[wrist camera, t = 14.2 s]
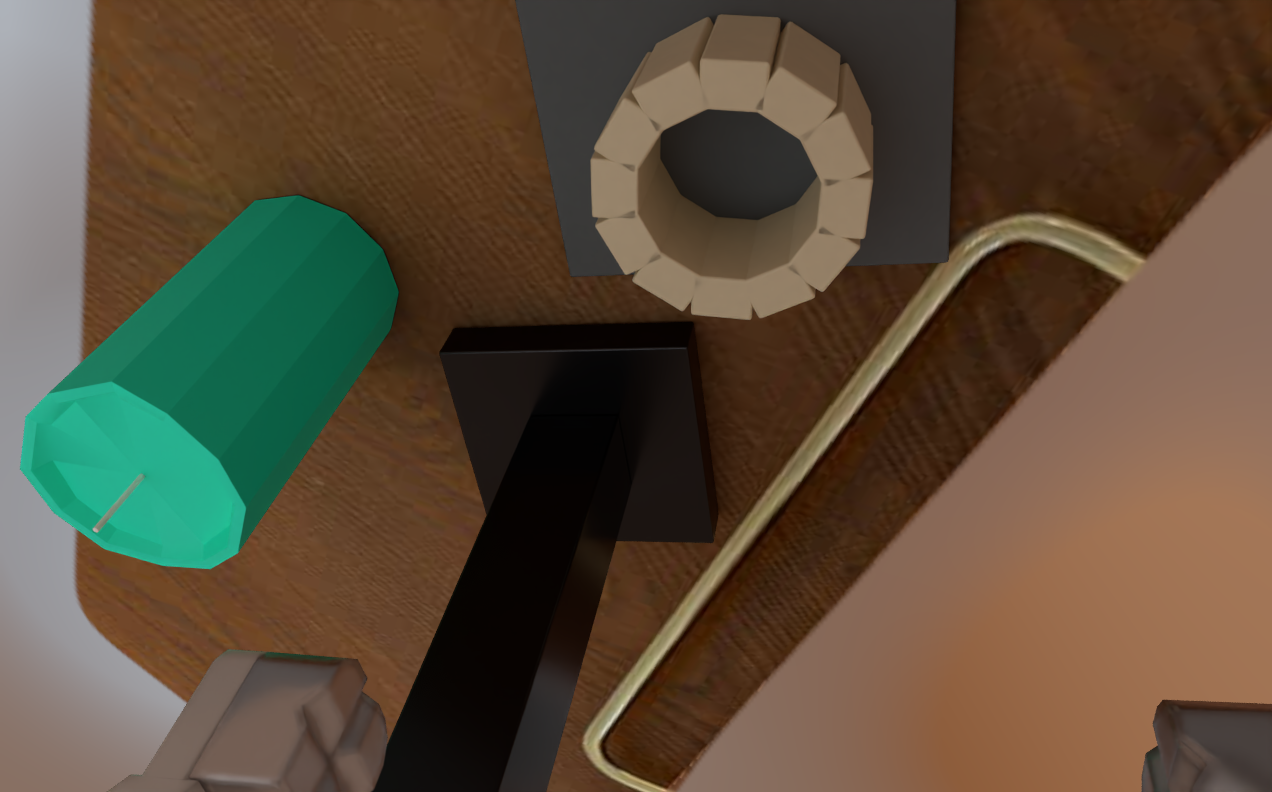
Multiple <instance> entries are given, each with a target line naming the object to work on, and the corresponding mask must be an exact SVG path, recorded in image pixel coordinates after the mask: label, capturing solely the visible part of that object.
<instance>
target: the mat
mask: <svg viewBox="0 0 1272 792" xmlns="http://www.w3.org/2000/svg"><path fill="white" fill-rule="evenodd" d="M515 1H516V6H517V11H518V16H519V21H520V26H521V31H522V36H523V41H524V46H525V51H526V56H527V61H528V66H529V71H530V76H531V81H532V86H533V91H534V96H535V101H536V106H537V111H538V116H539V121H540V126H541V131H542V136H543V141H544V146H545V151H546V156H547V161H548V166H549V171H550V176H551V181H552V186H553V191H554V196H555V201H556V206H557V211H558V216H559V221H560V226H561V231H562V236H563V241H564V246H565V251H566V256H567V261H568V266H569V271H570V275H571V276H572V277H579V276H605V275H625V274H624V272H623V270H622V269H621V267H620V266H619V264H618V262H617V261H616V259H615V257H614V256H613V254H612V253H611V251H610V249H609V248H608V246H607V245H606V243H605V241H604V240H603V238H602V237H601V235H600V233H599V232H598V230H597V228H596V227H595V224H596V222H597V220H598V218H597V217H593V216H592V196H591V161H590V160H591V158H592V156H593V154H594V152H595V150H594V146H595V144H596V142H597V140H598V139H599V137H600V135H601V133H602V131H603V129H604V127H605V125H606V124H607V122H608V120H609V118H610V116H611V114H612V112H613V110H614V109H615V107H616V105H617V103H618V101H619V99H620V97H621V96H622V94H623V92H624V91H625V89H626V87H627V86H628V84H629V82H630V81H631V79H632V77H633V75H634V74H635V72H636V70H637V69H638V67H639V65H640V64H641V62H642V60H643V59H644V57H645V55H646V54H647V53H648V52H652V51H653V49H654V47H655V45H656V44H657V43H658V42H660V41H662V40H664V39H666V38H668V37H670V36H672V35H673V34H675V33H677V32H679V31H681V30H683V29H685V28H687V27H689V26H691V25H692V24H694V23H696V22H698V21H700V20H702V19H704V18H706V17H709V18H710V19H711V21H712V23H713V25H714V24H715V22H716V19H717V17H718V15H721V14H723V15H742V16H761V17H778V18H780V20H781V26H780V33H781V32H782V30H783V29H784V27H785V26H786V24H787V23H788V22H793V23H794V24H796V25H797V26H799V27H800V28H802V29H803V30H805V31H806V32H808V33H809V34H811V35H812V36H814V37H815V38H817V39H818V40H820V41H821V42H823V43H824V44H826V45H827V46H829V47H830V48H832V49H833V50H835V51H836V52H838V53H839V54H840V55H841V57H840V65H842V64H844V63H847V64H849V66H850V69H851V71H852V73H853V75H854V77H855V80H856V82H857V84H858V86H859V88H860V91H861V93H862V95H863V97H864V99H865V102H866V104H867V106H868V108H869V110H870V113H871V125H873V186H872V193H871V200H870V207H869V214H868V221H867V228H866V235H865V238H864V239H860V249H859V250H858V251H857V253H856V254H855V255H854V256H853V257H852V259H851V260H850V261H849V262H848V263H847V264H846V266H866V265H892V264H918V263H944V262H948V260H949V229H950V196H951V162H952V129H953V95H954V61H955V28H956V0H515ZM660 159H661V161H662V163H663V165H664V166H665V168H666V170H667V172H668V173H669V175H670V177H671V179H672V180H673V182H674V184H675V186H676V187H677V189H678V191H679V193H680V194H681V195H682V196H683V197H685V198H687V199H688V200H690V201H692V202H693V203H695V204H696V205H698V206H700V207H701V208H703V209H704V210H706V211H708V212H709V213H711V214H712V215H714V216H716V217H725V218H737V219H750V220H760V219H762V218H764V217H767V216H769V215H771V214H774V213H776V212H778V211H781V210H783V209H785V208H788V207H790V206H792V205H795V204H796V203H797V202H798V201H799V199H800V198H801V197H802V196H803V194H804V193H805V192H806V190H807V189H808V188H809V187H810V185H811V184H812V183H813V181H814V180H815V179H816V177H817V176H818V175H817V173H816V171H815V169H814V167H813V165H812V163H811V161H810V159H809V157H808V155H807V153H806V151H805V149H804V147H803V145H802V143H801V141H800V140H799V139H798V138H796V137H795V136H793V135H792V134H790V133H789V132H787V131H785V130H784V129H782V128H781V127H779V126H778V125H776V124H775V123H773V122H772V121H770V120H769V119H767V118H765V117H764V116H762V115H761V114H759V113H758V112H744V111H728V110H713V109H707V110H705V111H703V112H701V113H699V114H697V115H694V116H692V117H690V118H688V119H686V120H684V121H682V122H680V123H678V124H676V125H674V126H672V127H670V128H668V129H666V130H664V131H663V132H662V133H661V140H660ZM631 274H635V271H634V272H632V273H630V274H627V275H631Z"/></svg>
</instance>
